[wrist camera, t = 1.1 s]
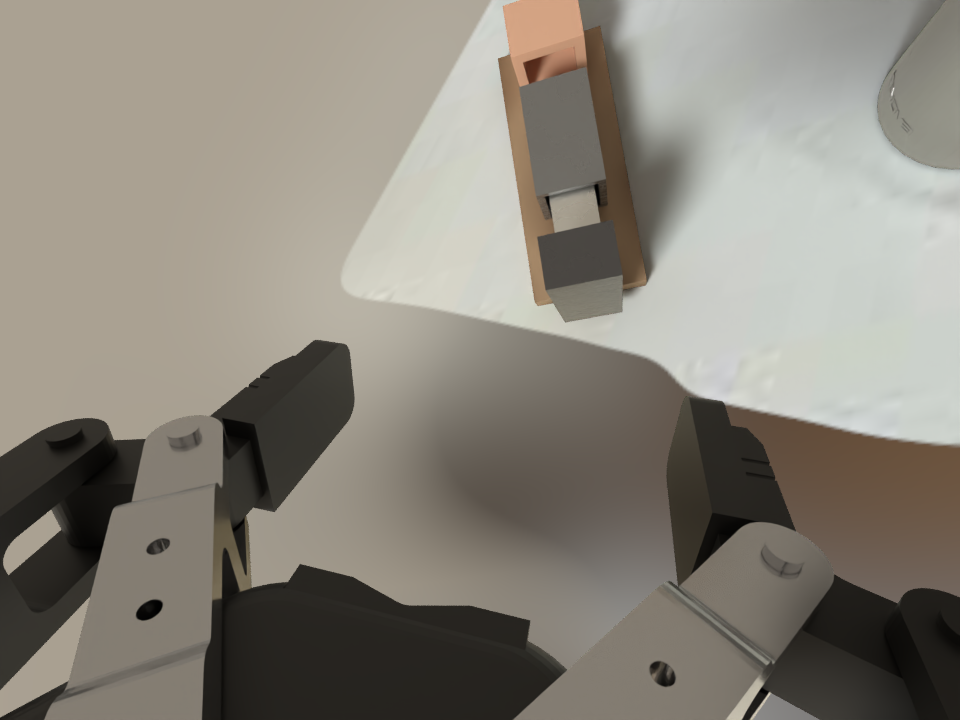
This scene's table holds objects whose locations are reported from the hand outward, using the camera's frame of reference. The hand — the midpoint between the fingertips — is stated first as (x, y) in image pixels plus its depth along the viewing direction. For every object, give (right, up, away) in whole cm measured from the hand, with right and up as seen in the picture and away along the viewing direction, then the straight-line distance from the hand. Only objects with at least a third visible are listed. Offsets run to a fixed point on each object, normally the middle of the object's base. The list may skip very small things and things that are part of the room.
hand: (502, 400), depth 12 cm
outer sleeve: (+6, +16, +26) cm, 31 cm away
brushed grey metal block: (+6, +12, +25) cm, 29 cm away
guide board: (+6, +16, +27) cm, 32 cm away
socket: (+5, +24, +27) cm, 36 cm away
